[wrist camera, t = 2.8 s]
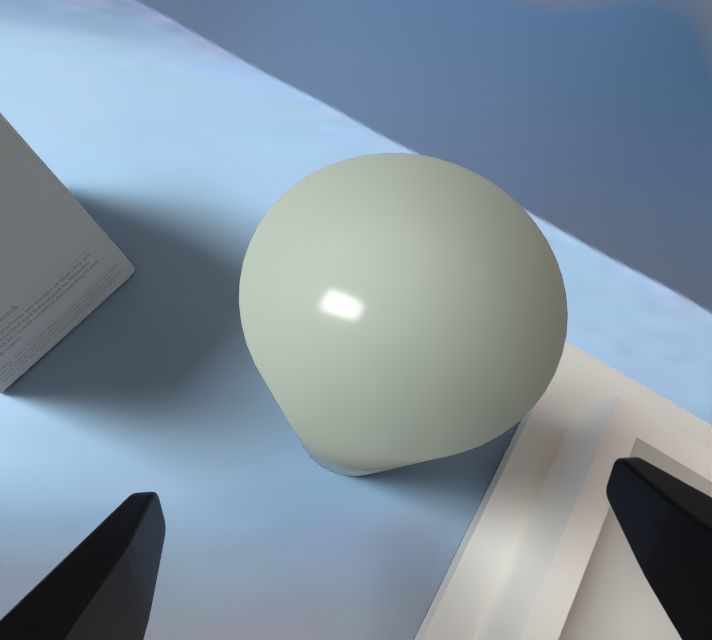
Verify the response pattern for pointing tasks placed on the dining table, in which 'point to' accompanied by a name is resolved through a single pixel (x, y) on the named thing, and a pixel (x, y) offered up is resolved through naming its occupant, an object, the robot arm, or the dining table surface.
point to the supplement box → (45, 259)
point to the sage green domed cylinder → (400, 311)
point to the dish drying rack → (568, 517)
